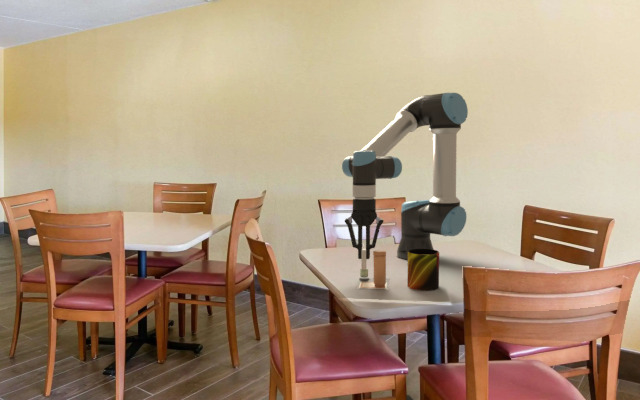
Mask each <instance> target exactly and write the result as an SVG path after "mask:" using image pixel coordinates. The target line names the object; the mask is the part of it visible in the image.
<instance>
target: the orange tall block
mask: <svg viewBox="0 0 640 400" xmlns="http://www.w3.org/2000/svg"><path fill="white" fill-rule="evenodd" d="M372 253H373V254H372V255H373V278H374V284H375V287H379V288H382V287H385V284H386V278H387V262H386V261H387V257H386V256H387V251H386V250H374V251H372Z"/></svg>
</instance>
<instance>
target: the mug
mask: <svg viewBox="0 0 640 400" xmlns="http://www.w3.org/2000/svg"><path fill="white" fill-rule="evenodd" d="M433 249H434V248H433ZM433 249H411V250H408V259H407V287H408V289H410V290H413V291H419V292H420V291H421V292H429V291H430V292H431V291H436V290H438V289H439V287H440V286H439V284H440V283H439V282H440V251H439V250H437V249H434V250H433Z"/></svg>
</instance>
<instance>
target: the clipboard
mask: <svg viewBox="0 0 640 400" xmlns="http://www.w3.org/2000/svg"><path fill="white" fill-rule="evenodd" d="M356 289H357V290H379V291H381V290H384V291H389V290H390V278H389V277H386V284H385V287H382V288H379V287H375V284H374V277H359V278H358V283H357V285H356Z"/></svg>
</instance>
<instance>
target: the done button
mask: <svg viewBox="0 0 640 400" xmlns="http://www.w3.org/2000/svg"><path fill="white" fill-rule="evenodd" d="M359 271H360V272H359V275H360V277H359V278H369V268H366V270H361V268H360V270H359Z"/></svg>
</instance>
